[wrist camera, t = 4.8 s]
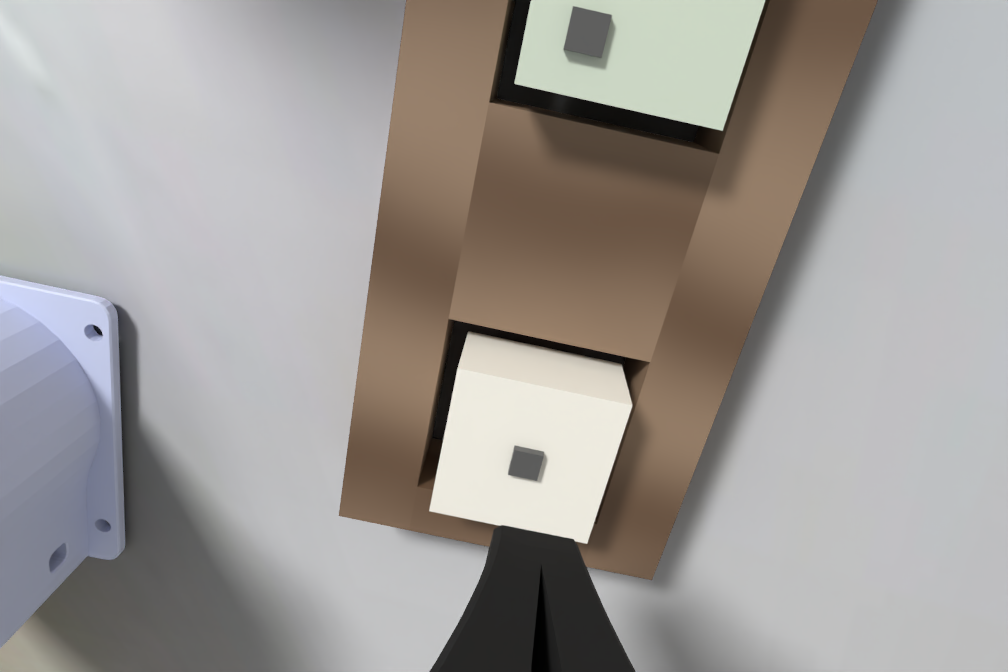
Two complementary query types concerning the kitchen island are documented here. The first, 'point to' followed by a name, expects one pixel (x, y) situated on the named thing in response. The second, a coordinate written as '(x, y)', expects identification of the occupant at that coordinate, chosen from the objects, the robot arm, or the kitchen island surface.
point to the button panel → (578, 253)
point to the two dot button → (641, 54)
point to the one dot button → (530, 437)
